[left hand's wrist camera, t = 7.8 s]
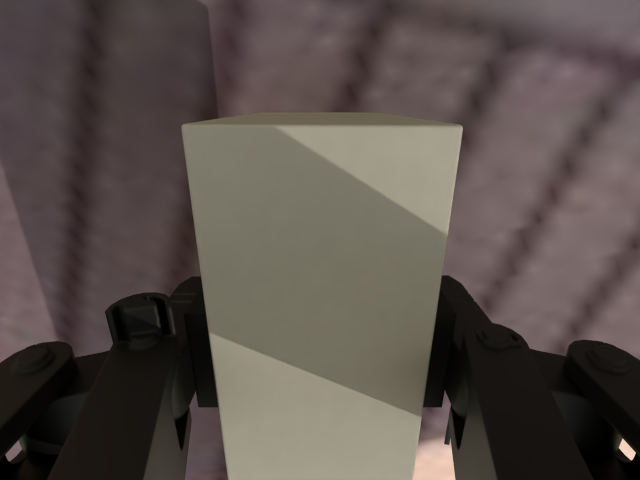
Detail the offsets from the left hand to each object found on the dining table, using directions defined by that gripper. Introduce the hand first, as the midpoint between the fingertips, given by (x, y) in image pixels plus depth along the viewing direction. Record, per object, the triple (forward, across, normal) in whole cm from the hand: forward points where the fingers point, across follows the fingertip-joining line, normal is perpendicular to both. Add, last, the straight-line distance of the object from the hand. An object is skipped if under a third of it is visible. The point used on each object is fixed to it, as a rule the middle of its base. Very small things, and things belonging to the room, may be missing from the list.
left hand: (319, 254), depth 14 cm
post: (+1, 0, -26) cm, 27 cm away
